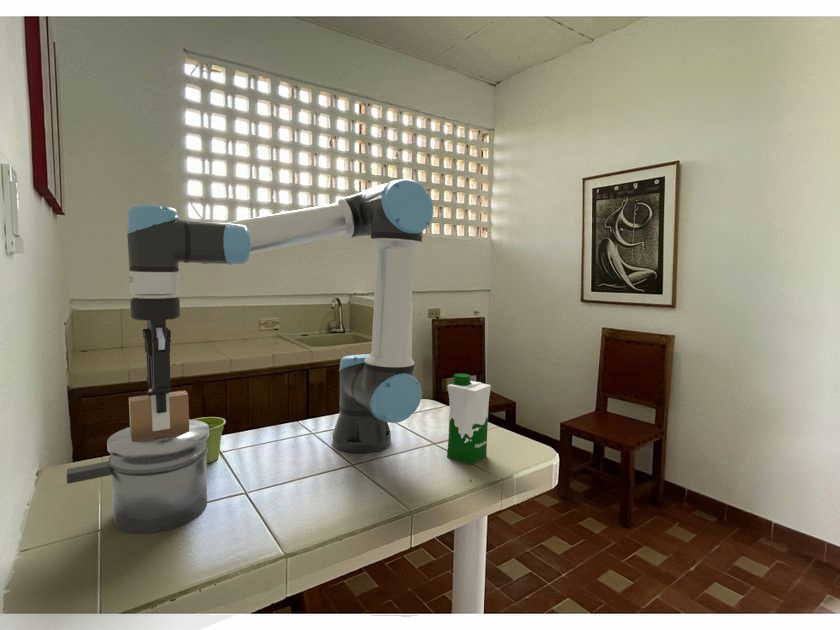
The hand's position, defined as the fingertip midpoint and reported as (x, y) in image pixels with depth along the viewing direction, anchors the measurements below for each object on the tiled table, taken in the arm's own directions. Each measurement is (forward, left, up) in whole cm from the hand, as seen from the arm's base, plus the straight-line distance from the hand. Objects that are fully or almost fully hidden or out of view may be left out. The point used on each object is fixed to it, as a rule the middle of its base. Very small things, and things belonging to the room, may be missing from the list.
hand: (159, 425), depth 83 cm
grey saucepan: (+3, 0, -16) cm, 16 cm away
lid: (0, 0, -3) cm, 3 cm away
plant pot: (-11, -20, -16) cm, 28 cm away
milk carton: (-64, +12, -16) cm, 67 cm away
